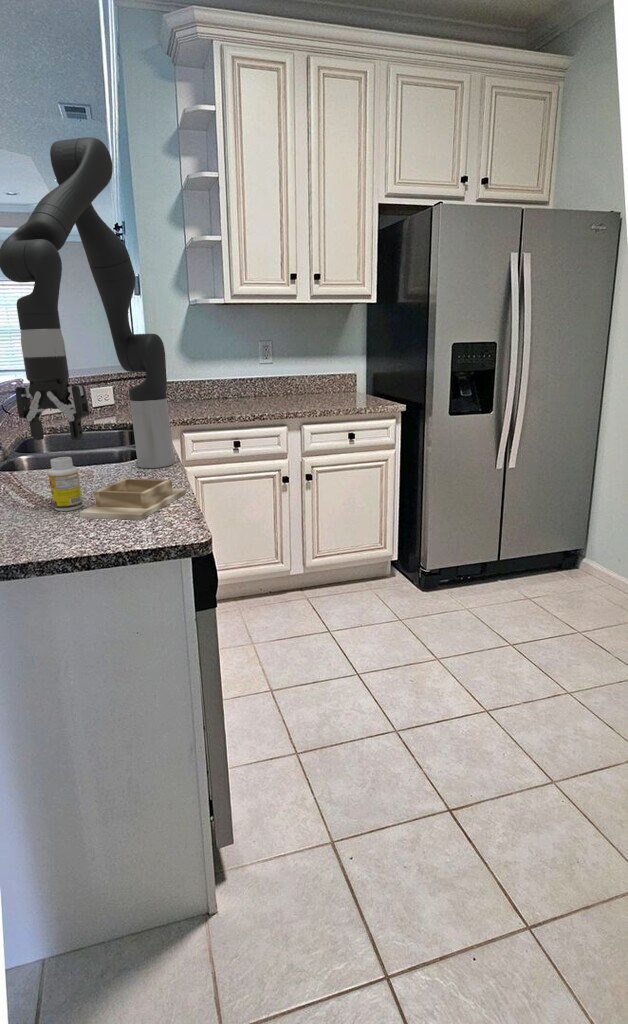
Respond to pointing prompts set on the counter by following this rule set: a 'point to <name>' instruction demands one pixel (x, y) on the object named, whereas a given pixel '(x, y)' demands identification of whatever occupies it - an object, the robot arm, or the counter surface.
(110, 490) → the cup caddy
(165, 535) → the counter surface
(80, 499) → the supplement bottle
